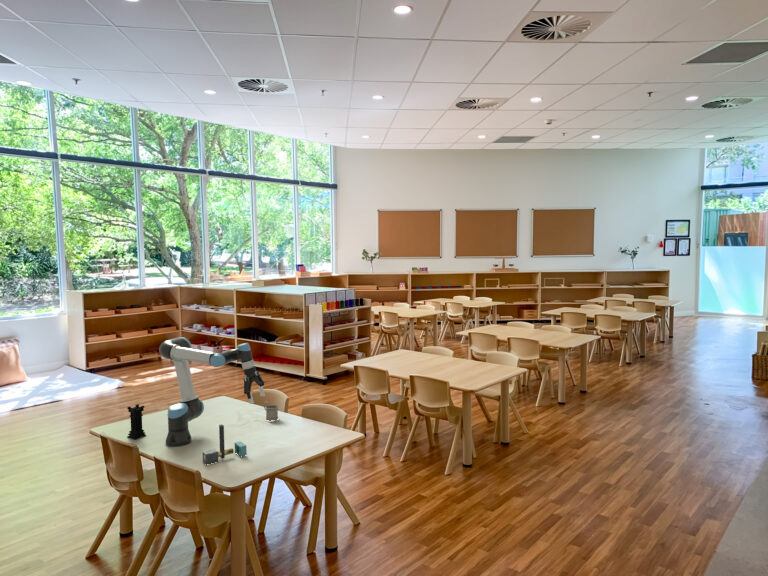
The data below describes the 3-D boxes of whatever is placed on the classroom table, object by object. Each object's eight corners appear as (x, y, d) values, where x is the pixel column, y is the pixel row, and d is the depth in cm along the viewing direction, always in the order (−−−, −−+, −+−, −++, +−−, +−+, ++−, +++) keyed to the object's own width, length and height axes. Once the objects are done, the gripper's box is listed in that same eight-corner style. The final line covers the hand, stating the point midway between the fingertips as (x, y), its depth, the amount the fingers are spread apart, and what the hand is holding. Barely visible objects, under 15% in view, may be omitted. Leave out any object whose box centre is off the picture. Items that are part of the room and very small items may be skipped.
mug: (281, 419, 361) (281, 403, 360) (270, 423, 354) (270, 406, 353) (269, 415, 371) (269, 399, 370) (258, 418, 363) (258, 402, 363)
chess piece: (138, 433, 334) (137, 404, 333) (146, 435, 330) (145, 405, 328) (127, 437, 327) (126, 407, 326) (134, 439, 323) (133, 409, 322)
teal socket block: (234, 453, 300) (234, 442, 300) (240, 451, 302) (240, 441, 302) (240, 457, 293) (240, 447, 293) (246, 456, 296) (246, 445, 295)
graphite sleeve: (202, 462, 287) (202, 451, 286) (214, 459, 291) (214, 448, 291) (206, 465, 282) (205, 454, 282) (218, 462, 287) (218, 451, 286)
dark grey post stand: (203, 461, 286) (202, 428, 284) (231, 454, 296) (230, 422, 295) (205, 463, 283) (204, 429, 282) (233, 455, 294) (232, 423, 292)
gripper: (243, 372, 305) (251, 405, 307) (264, 361, 329) (272, 392, 330) (232, 374, 307) (241, 407, 309) (254, 363, 331) (262, 393, 333)
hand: (257, 399), depth 320 cm, fingers open, 13 cm apart
